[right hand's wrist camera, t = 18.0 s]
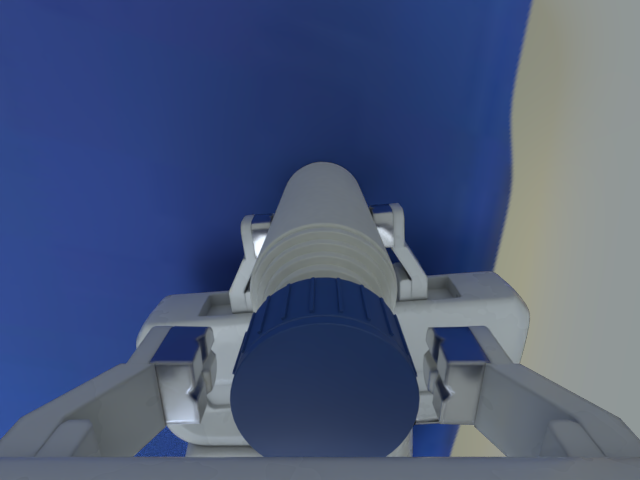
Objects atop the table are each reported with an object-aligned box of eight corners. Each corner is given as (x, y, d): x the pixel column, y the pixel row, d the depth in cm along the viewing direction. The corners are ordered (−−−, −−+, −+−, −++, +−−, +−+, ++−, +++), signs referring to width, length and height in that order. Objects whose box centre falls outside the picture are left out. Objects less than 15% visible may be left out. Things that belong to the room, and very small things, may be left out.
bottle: (373, 220, 25) (463, 433, 9) (303, 249, 26) (274, 494, 10) (343, 148, 24) (388, 254, 8) (269, 181, 24) (171, 342, 8)
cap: (390, 259, 10) (409, 303, 7) (413, 394, 11) (433, 462, 9) (226, 291, 10) (202, 341, 8) (268, 418, 11) (256, 489, 9)
